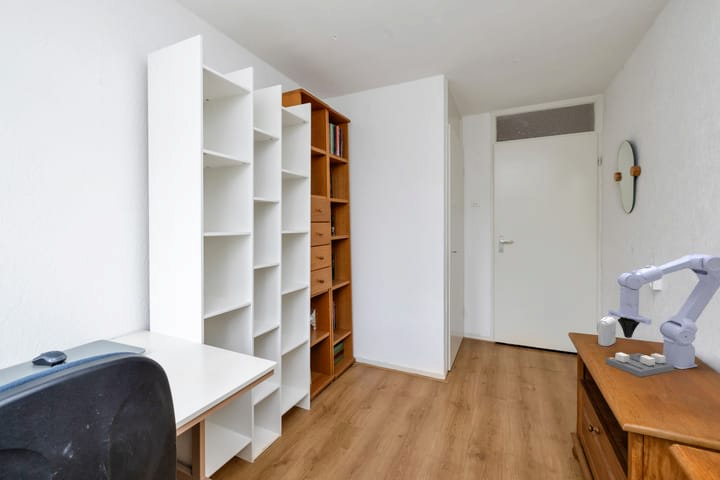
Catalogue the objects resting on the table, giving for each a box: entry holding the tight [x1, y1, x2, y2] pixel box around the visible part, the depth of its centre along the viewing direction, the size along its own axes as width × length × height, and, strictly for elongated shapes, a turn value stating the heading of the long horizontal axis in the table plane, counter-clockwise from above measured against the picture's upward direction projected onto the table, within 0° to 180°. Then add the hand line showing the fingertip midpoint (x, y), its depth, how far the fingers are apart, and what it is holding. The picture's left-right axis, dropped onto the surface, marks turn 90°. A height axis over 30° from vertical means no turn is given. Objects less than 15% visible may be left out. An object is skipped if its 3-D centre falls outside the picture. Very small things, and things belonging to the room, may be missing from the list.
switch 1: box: [614, 352, 630, 362], centre depth 123 cm, size 3×3×2 cm
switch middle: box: [640, 354, 655, 366], centre depth 120 cm, size 3×3×2 cm
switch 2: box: [650, 352, 666, 363], centre depth 122 cm, size 3×3×2 cm
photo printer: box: [597, 316, 617, 347], centre depth 147 cm, size 10×4×12 cm, turn 123°
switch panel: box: [605, 352, 675, 378], centre depth 123 cm, size 20×12×2 cm, turn 107°
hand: (628, 337), depth 128 cm, fingers closed
